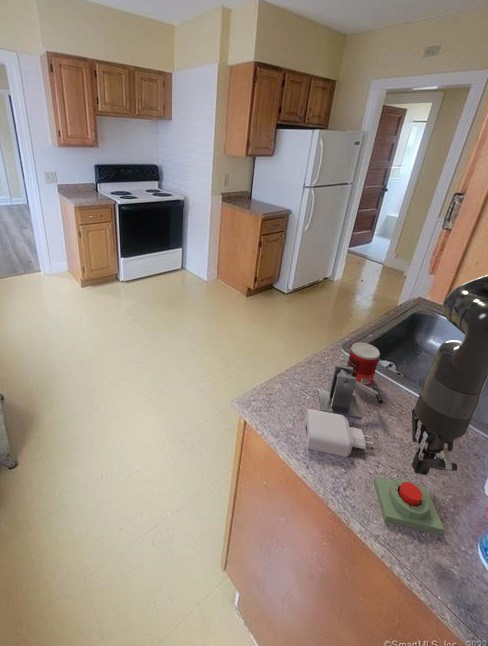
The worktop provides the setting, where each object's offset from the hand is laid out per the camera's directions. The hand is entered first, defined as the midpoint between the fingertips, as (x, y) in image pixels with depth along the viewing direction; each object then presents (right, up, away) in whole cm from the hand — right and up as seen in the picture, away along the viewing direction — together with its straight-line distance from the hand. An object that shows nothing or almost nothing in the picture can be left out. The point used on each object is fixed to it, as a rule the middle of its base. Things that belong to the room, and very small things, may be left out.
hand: (418, 470), depth 61 cm
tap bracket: (-4, 0, +28) cm, 28 cm away
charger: (-8, -4, +18) cm, 20 cm away
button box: (0, -10, +4) cm, 11 cm away
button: (0, -7, +3) cm, 7 cm away
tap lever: (0, +6, +25) cm, 26 cm away
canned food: (+7, +4, +39) cm, 39 cm away
